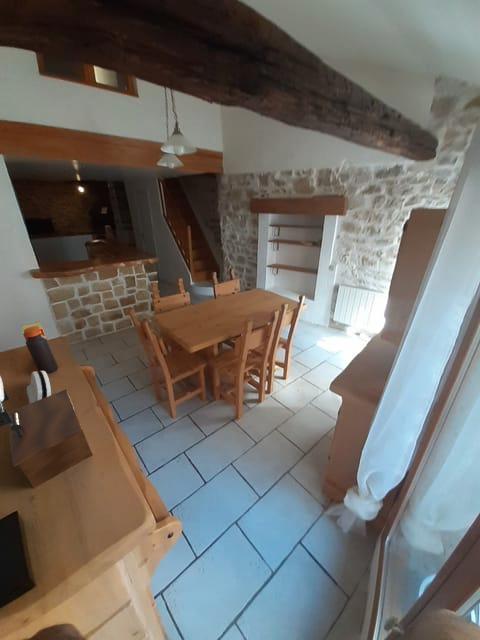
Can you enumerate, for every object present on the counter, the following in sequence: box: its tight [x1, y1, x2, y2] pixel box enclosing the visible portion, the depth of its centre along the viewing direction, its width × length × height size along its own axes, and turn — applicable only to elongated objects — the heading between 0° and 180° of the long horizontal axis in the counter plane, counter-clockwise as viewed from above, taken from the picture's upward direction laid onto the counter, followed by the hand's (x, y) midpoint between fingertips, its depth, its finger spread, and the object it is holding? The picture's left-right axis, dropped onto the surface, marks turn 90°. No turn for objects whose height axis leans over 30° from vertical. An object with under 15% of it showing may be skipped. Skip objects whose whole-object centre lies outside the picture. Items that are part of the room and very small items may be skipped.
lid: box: [7, 388, 84, 467], centre depth 70 cm, size 15×21×5 cm
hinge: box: [26, 370, 52, 404], centre depth 91 cm, size 17×5×10 cm, turn 43°
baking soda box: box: [20, 320, 47, 342], centre depth 112 cm, size 10×6×16 cm
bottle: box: [24, 326, 59, 375], centre depth 102 cm, size 7×7×20 cm
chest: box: [18, 398, 93, 489], centre depth 73 cm, size 14×21×10 cm, turn 42°
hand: (2, 412), depth 64 cm, fingers open, 9 cm apart
